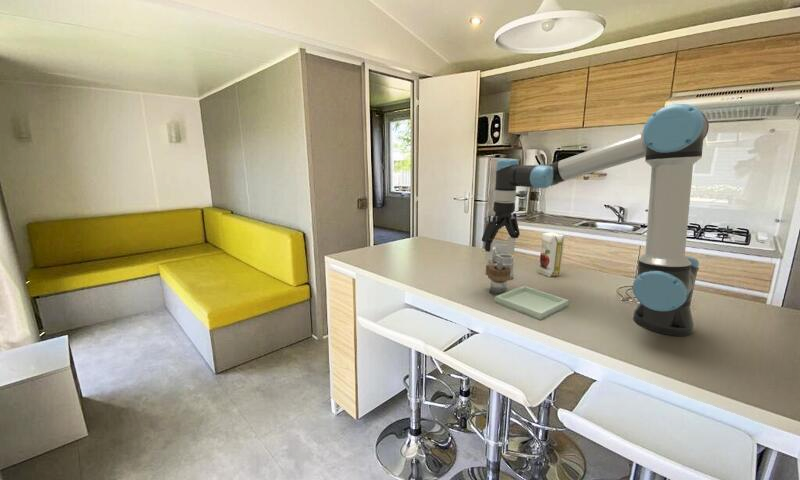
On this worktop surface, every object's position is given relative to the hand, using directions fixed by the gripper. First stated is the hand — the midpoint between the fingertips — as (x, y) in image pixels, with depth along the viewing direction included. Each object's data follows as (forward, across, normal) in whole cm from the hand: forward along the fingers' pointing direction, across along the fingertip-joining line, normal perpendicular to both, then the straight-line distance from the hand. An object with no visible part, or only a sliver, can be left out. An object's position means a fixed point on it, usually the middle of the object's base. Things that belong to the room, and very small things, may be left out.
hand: (499, 256), depth 131 cm
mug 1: (+15, -34, -26) cm, 45 cm away
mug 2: (+15, -17, -11) cm, 25 cm away
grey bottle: (+15, 0, 0) cm, 15 cm away
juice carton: (+15, -37, +1) cm, 40 cm away
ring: (+9, 0, 0) cm, 9 cm away
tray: (+14, 0, +15) cm, 21 cm away
